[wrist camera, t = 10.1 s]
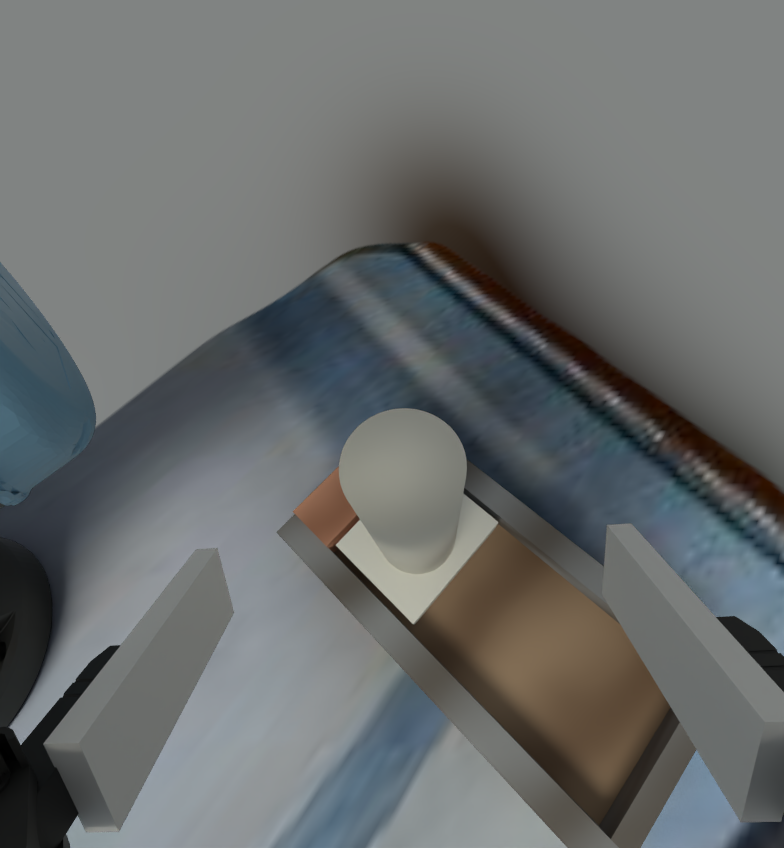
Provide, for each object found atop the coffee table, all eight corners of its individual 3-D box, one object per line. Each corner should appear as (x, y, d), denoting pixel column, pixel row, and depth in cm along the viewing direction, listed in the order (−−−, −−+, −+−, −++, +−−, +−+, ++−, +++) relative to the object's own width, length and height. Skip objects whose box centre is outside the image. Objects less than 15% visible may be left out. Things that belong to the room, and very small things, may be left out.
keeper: (340, 550, 26) (268, 484, 15) (420, 465, 28) (408, 351, 17) (414, 625, 24) (393, 613, 13) (495, 528, 26) (538, 444, 15)
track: (294, 543, 29) (273, 530, 25) (405, 430, 32) (401, 404, 28) (586, 857, 21) (617, 902, 17) (700, 668, 24) (746, 673, 20)
